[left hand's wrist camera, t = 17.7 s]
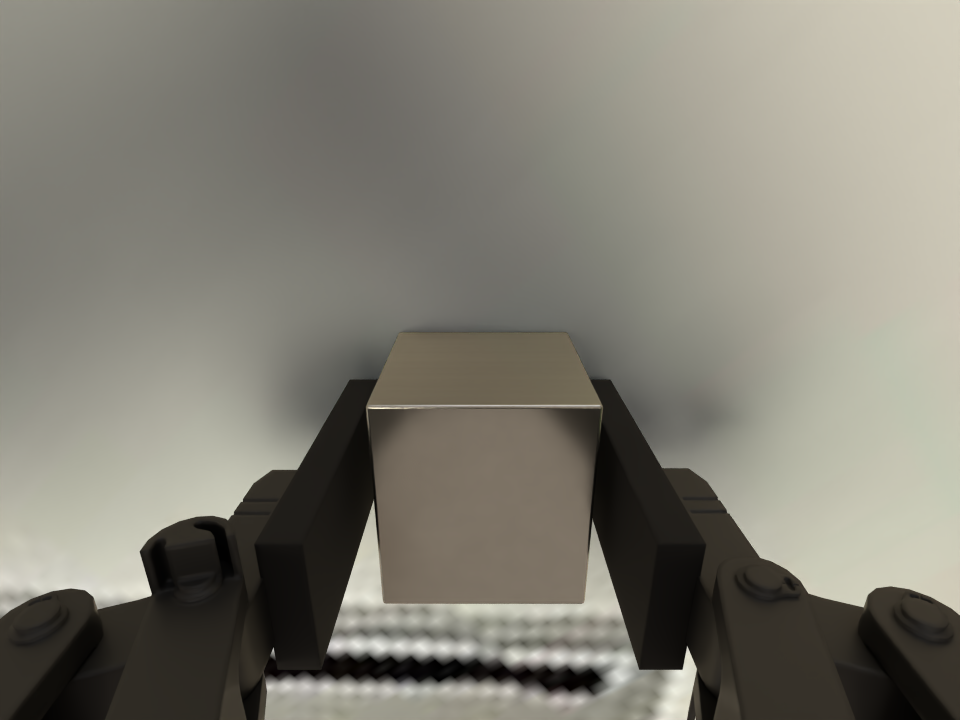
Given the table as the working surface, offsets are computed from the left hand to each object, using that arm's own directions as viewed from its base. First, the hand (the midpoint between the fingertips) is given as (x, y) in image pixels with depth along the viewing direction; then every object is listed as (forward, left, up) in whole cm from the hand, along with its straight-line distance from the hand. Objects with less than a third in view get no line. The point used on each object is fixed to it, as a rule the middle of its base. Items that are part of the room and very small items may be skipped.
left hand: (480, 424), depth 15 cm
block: (0, 0, 0) cm, 0 cm away
